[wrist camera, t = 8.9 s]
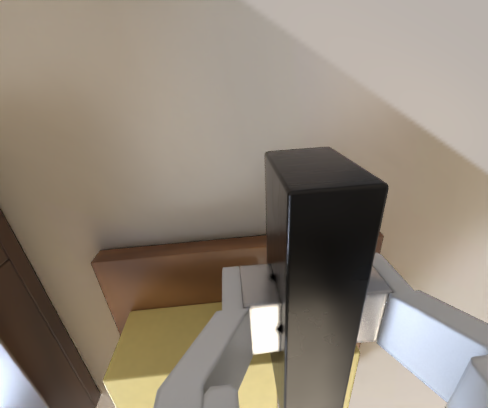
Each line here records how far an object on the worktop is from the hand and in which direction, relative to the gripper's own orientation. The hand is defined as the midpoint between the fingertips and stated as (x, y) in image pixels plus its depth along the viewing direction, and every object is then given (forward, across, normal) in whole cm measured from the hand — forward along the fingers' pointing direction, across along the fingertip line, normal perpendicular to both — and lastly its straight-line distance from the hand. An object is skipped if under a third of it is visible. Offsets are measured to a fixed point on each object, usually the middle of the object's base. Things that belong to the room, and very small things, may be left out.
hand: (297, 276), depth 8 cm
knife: (+4, 0, +4) cm, 6 cm away
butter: (+4, +4, +7) cm, 9 cm away
